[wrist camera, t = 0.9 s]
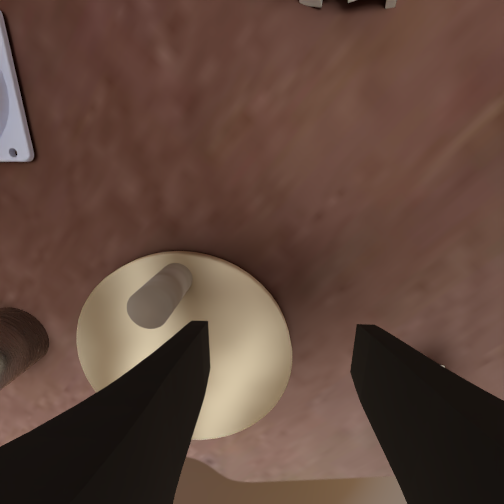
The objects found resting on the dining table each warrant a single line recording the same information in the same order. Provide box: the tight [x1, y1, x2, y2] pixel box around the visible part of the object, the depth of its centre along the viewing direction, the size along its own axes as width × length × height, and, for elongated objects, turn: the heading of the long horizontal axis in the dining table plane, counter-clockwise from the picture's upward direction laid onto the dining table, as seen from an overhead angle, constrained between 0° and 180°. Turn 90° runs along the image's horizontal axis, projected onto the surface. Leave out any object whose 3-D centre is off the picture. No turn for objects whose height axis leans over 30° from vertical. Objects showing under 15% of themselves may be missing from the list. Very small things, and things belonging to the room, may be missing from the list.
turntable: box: [77, 251, 292, 440], centre depth 15 cm, size 15×15×5 cm
